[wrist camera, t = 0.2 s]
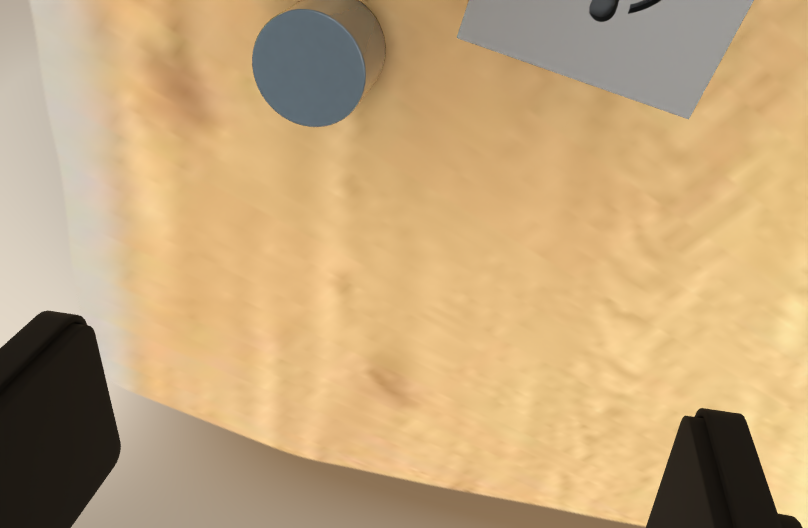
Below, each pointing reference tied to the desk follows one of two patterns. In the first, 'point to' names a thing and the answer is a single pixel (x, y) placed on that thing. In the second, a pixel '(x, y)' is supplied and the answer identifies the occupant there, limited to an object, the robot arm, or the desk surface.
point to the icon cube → (615, 42)
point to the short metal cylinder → (318, 60)
